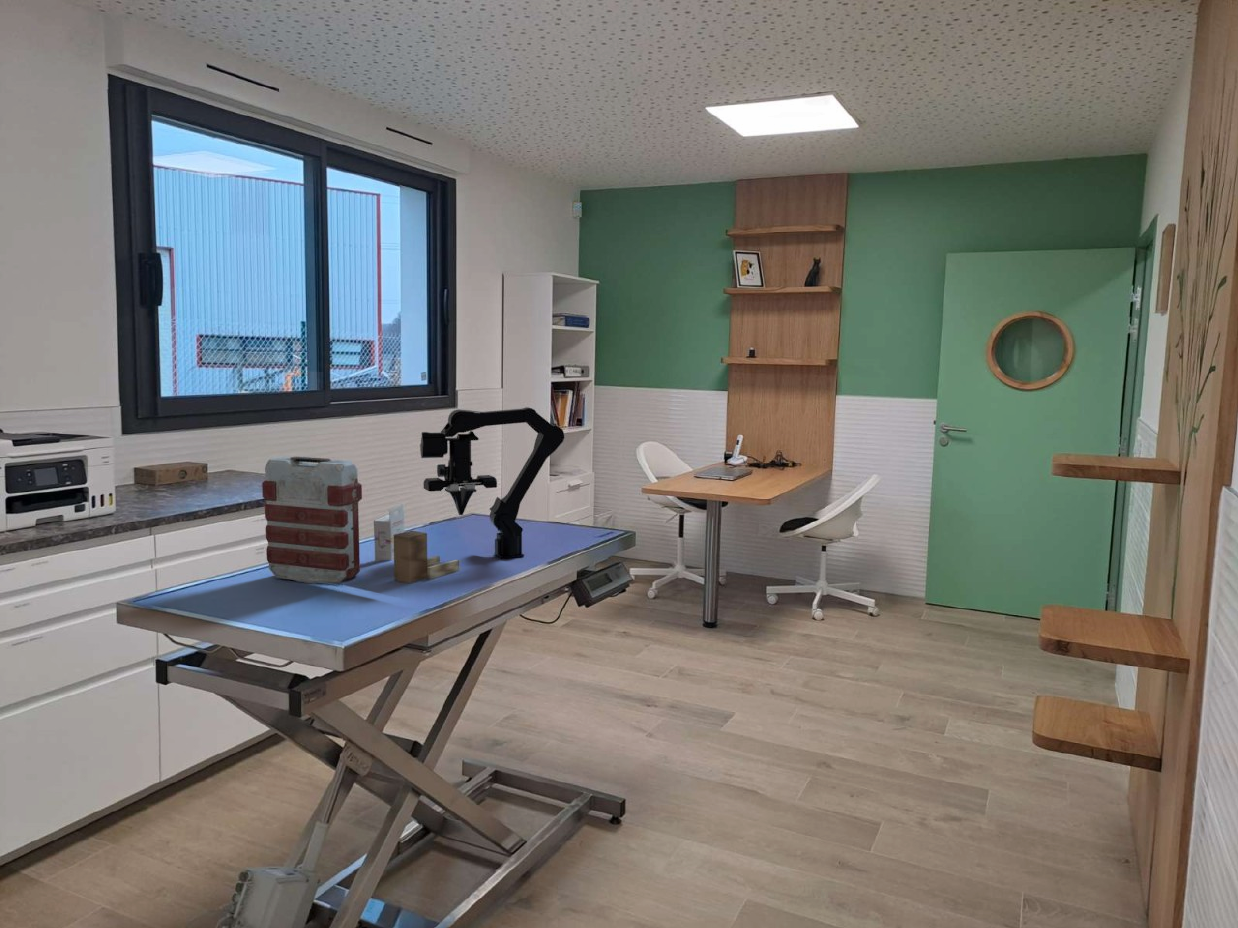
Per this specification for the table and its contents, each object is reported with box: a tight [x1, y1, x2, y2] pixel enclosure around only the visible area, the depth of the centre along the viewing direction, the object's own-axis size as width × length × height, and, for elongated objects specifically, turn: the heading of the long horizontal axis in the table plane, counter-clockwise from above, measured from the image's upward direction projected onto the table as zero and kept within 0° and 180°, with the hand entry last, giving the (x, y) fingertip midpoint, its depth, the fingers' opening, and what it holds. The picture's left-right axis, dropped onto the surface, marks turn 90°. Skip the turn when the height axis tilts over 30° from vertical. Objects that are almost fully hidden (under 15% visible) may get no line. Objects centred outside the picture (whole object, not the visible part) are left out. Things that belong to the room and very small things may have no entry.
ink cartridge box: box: [373, 504, 405, 563], centre depth 239 cm, size 9×5×15 cm, turn 168°
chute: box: [427, 555, 460, 580], centre depth 222 cm, size 18×10×4 cm, turn 147°
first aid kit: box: [261, 456, 363, 586], centre depth 218 cm, size 23×8×30 cm, turn 71°
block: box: [393, 530, 428, 584], centre depth 217 cm, size 6×5×11 cm
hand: (460, 514), depth 242 cm, fingers closed
